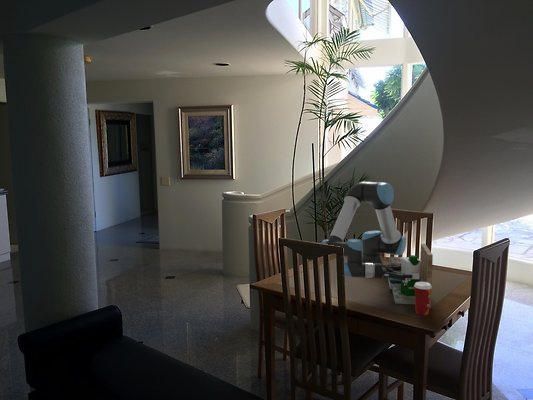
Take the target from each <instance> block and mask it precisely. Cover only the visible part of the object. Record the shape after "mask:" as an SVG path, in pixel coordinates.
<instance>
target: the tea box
mask: <svg viewBox="0 0 533 400" xmlns="http://www.w3.org/2000/svg"><path fill="white" fill-rule="evenodd" d="M401 258H407V256H406V257H405V256H389V257H388V265H394V264H401ZM396 272H400V273H401V270H399V271H396ZM387 279H388V287H389V290H393V285H396V288H401V280H400V279H394V278H388V277H387Z"/></svg>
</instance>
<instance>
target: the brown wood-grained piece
mask: <svg viewBox="0 0 533 400" xmlns="http://www.w3.org/2000/svg"><path fill="white" fill-rule="evenodd" d="M433 257H434V254H433V253H432V252H431V249H430V248H429V247H428V246H427V245H426V243H420V258H419V260H421V261H422V263H421V270H420V282H427V283H430V284H431V286H432V285H433V284H432V281H433ZM432 287H433V286H432ZM432 289H433V288H431V290H432ZM400 290H401V288H396V285H393V289H392V296H393V300H394V303H395V304H400V305H401V304H404V305H415V296H406V295H404V294H403V293H401V292H400ZM431 308H432V293H431V294H430V304H429V309H431Z"/></svg>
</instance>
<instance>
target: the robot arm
mask: <svg viewBox="0 0 533 400" xmlns="http://www.w3.org/2000/svg"><path fill="white" fill-rule="evenodd" d="M394 193H395V192H394V187H393V186H392V185H391V184H390V183H388V182H383V181H359V182H356V183H355V184H354V185H353V186H352V187H350V188H349V189H348V190H347V192H346V194H345V196H344V197H343V201H344V203H343V205H342V207H341V209H340V212H339V214H338V216H337V219H336V221H335V223H334V225H333V229H332V230H331V233H330V235H329V237H328V238H327V239H323V240H322V242H321V243H320V245H321V244H328V245H334V246H340V247H343V248H344V258H346V261H344V262H343V263H344V271H345V276H344V277H347V278H363V279H365V278H366V279H368V280H369V279H373V278H374V279H382V278H383V276H384V278H387V279H388V278H394V279H400V280H404V281H405V279H419V273H405V274H404V273H400V272H396V271H399V270H401V264H394V265H389V264H384V261H383V257H382V254H385V255H386V254H387V255H392V256H402V255H403V254H404V253H405V251H406V247H407V238H406V236H404V235H402V234H401V232H400V231H399V230H398V229H397V225H396V222H395V218H394V213H393V210H392V207H391V205H392V203H393V202H394V199H395V194H394ZM362 203H368V204H370V206H371V208H372V209H374V211H375V213H376V216H377V221H378V223H379V227H380V230H369V231H365V232H363V233H362V240H361V239H359V238H349V239H347V241H346V242H345V241H344V240H345V237H346V235H347V233H348V230H349V228H350V225H351V223H352V221H353V218H354V215H355V214H356V211H357V208H359V207H361V204H362ZM332 256H336V255H335V254H332Z"/></svg>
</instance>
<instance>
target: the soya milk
mask: <svg viewBox="0 0 533 400" xmlns="http://www.w3.org/2000/svg"><path fill="white" fill-rule="evenodd" d="M406 257H407V256H406ZM421 263H422V261H421V260H420V258H419V257H418V256H417V255H416V254H414V255H413V254H412V255H411V254H410V255H408V257H407V258H401V273H404V274H405V273H419V279H405V281H404V280H401V290H400V292H401V293H403V294H404V295H406V296H415V287H414V285H415V283H416V282H420V270H421Z"/></svg>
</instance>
